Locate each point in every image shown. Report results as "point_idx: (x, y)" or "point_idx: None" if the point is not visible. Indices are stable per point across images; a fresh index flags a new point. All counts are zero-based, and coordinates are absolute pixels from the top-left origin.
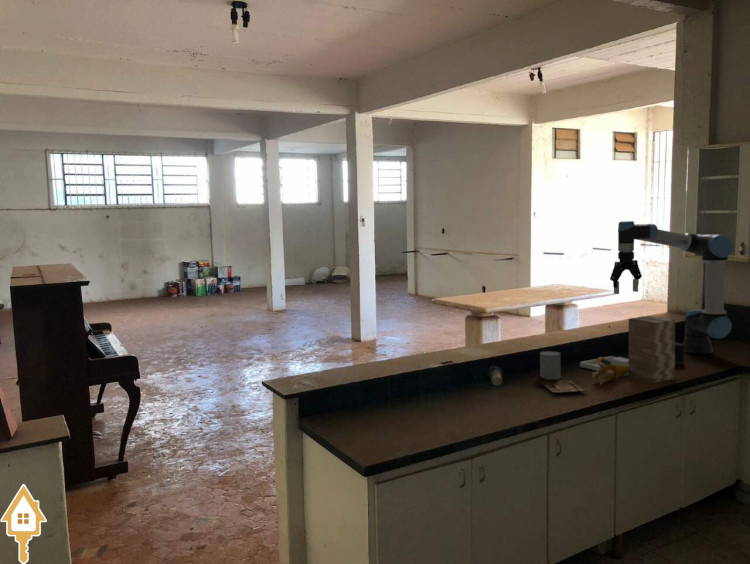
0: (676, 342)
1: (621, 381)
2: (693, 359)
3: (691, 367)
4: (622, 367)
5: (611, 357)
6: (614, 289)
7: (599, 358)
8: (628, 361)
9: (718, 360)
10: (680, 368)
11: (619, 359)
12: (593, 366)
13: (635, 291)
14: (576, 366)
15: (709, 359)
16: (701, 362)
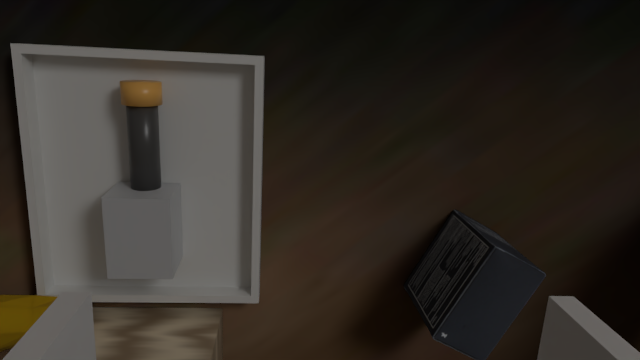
0: (522, 301)
1: None
2: (573, 268)
3: (434, 345)
4: (14, 345)
5: (255, 66)
6: (23, 353)
7: (123, 92)
8: (140, 278)
9: (622, 333)
10: (386, 332)
11: (125, 234)
12: (23, 144)
13: (540, 349)
14: (14, 24)
15: (617, 304)
16: (543, 317)
